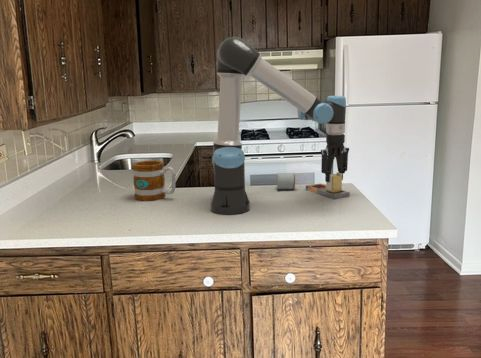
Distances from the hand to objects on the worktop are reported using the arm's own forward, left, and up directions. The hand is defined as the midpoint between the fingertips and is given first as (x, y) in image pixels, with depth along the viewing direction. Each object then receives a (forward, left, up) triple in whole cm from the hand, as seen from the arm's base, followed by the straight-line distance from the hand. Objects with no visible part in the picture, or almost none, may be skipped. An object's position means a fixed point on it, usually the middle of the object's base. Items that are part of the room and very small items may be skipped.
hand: (333, 188), depth 197 cm
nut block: (0, 0, -2) cm, 2 cm away
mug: (-66, +38, -3) cm, 76 cm away
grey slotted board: (0, +5, -3) cm, 6 cm away
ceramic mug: (-10, +22, -3) cm, 24 cm away
